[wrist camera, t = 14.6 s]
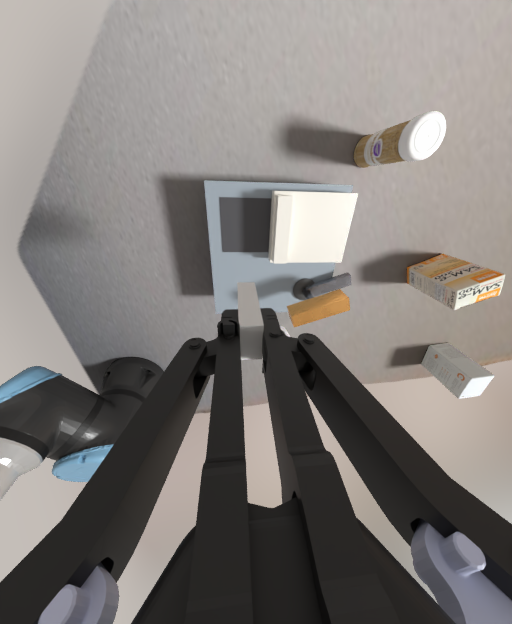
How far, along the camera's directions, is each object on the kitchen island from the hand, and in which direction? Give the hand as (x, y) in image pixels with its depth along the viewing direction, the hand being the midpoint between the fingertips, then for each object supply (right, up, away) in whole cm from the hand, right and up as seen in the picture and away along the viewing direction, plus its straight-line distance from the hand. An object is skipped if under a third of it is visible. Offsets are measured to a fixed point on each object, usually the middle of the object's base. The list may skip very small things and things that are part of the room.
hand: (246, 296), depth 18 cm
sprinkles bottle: (+20, +26, +17) cm, 37 cm away
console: (+4, +12, +24) cm, 27 cm away
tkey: (+12, +3, +20) cm, 23 cm away
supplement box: (+40, +9, +30) cm, 51 cm away
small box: (+56, -14, +46) cm, 74 cm away
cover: (+9, +12, +15) cm, 22 cm away
